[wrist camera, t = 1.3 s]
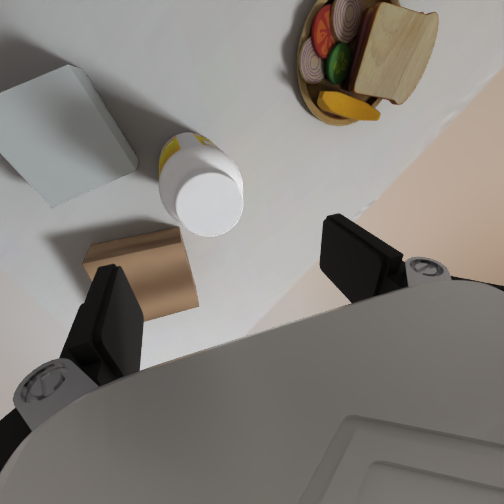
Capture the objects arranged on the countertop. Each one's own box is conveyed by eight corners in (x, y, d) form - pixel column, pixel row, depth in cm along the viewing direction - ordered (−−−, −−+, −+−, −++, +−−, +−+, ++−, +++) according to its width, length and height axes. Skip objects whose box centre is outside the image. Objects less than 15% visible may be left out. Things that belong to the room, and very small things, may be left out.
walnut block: (91, 244, 28) (81, 263, 25) (179, 226, 30) (181, 242, 27) (123, 306, 34) (119, 328, 30) (195, 287, 36) (199, 306, 33)
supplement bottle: (167, 198, 28) (170, 257, 18) (151, 134, 24) (144, 162, 14) (224, 189, 30) (258, 239, 19) (217, 128, 26) (254, 149, 16)
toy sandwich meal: (320, -54, 21) (355, -87, 17) (421, 15, 27) (465, 1, 23) (276, 107, 27) (296, 109, 23) (367, 138, 32) (395, 144, 28)
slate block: (-9, 107, 20) (-42, 109, 17) (82, 69, 21) (68, 64, 17) (66, 193, 25) (52, 208, 22) (139, 160, 25) (136, 170, 22)
